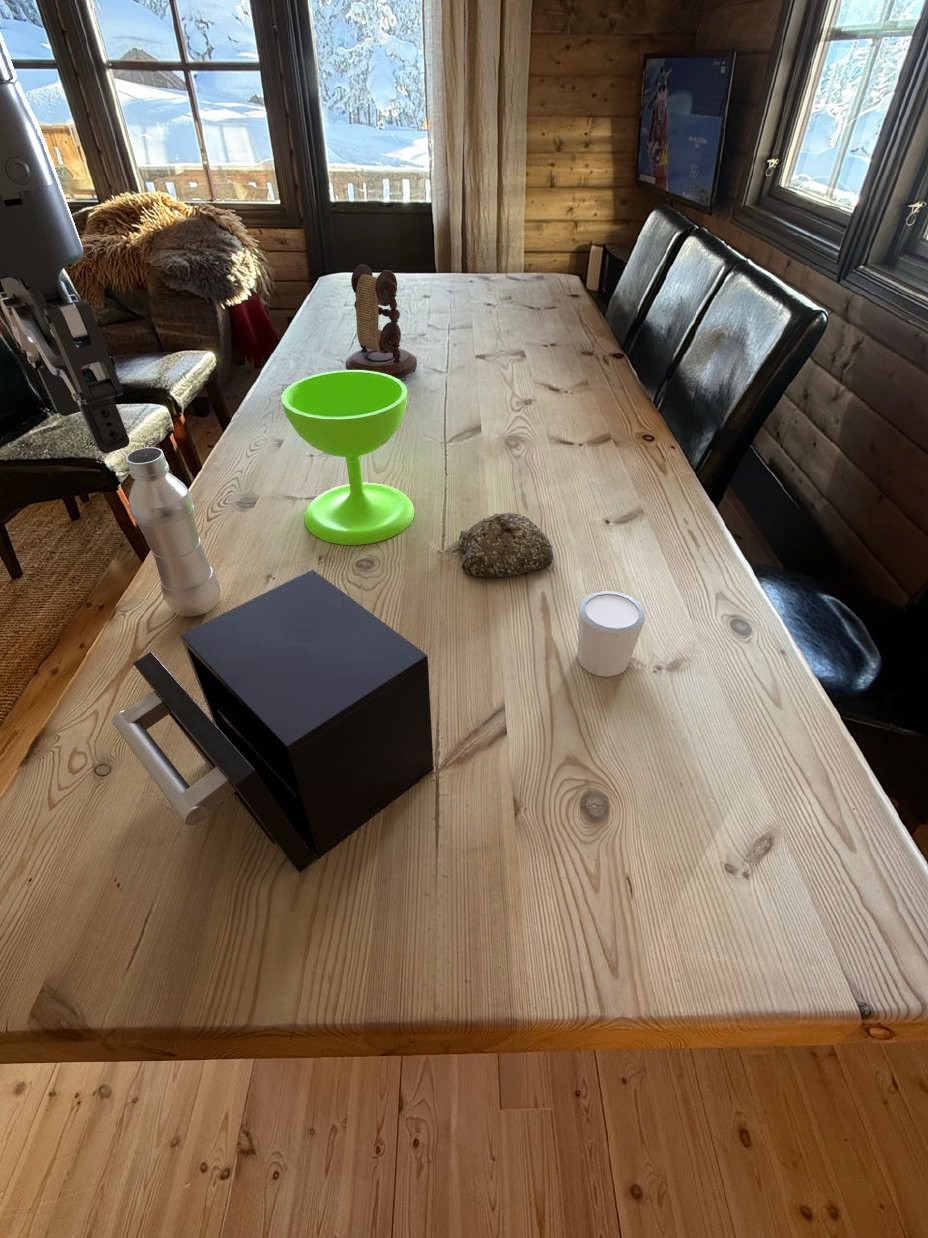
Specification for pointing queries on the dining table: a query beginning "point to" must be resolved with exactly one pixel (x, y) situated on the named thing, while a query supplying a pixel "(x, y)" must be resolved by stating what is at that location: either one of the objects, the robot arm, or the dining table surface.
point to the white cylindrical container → (608, 632)
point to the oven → (317, 703)
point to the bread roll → (504, 546)
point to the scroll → (374, 342)
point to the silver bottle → (171, 533)
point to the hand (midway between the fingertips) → (93, 429)
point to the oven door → (217, 752)
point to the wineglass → (351, 451)
